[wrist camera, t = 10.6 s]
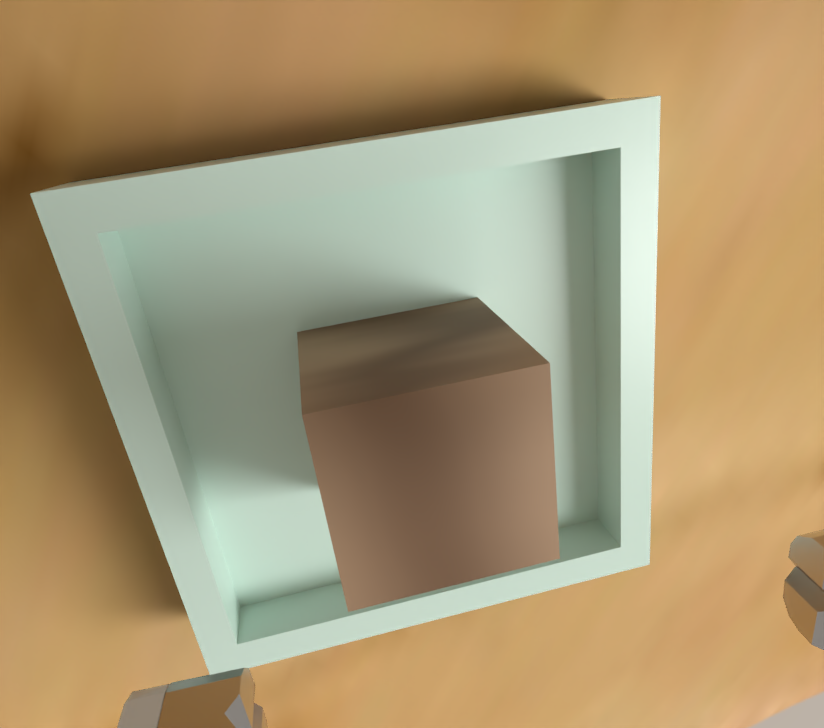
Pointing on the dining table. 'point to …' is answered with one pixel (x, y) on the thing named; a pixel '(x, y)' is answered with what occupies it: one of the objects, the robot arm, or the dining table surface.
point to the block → (429, 448)
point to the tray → (355, 300)
